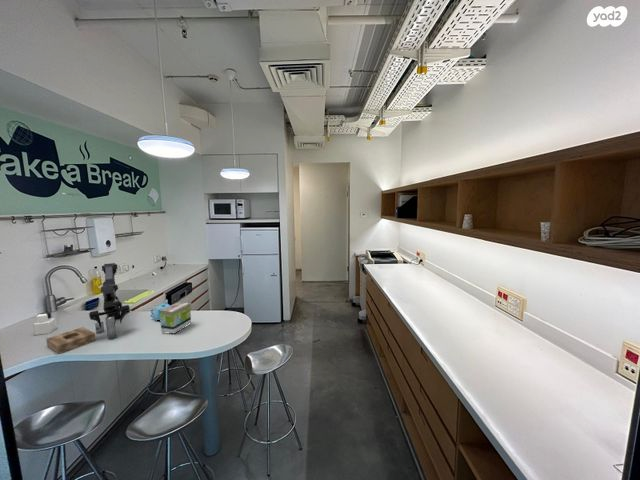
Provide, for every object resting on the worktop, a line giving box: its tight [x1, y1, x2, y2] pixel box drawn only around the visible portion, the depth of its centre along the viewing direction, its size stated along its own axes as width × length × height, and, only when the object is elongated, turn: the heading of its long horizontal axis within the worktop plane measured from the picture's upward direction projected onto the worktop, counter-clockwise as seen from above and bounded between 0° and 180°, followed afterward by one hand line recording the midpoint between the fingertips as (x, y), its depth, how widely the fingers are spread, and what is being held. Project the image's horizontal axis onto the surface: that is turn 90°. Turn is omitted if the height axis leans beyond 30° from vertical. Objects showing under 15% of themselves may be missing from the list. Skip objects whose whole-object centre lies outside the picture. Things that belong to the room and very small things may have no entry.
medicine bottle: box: [33, 311, 58, 336], centre depth 160 cm, size 7×7×12 cm
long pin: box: [105, 316, 117, 341], centre depth 153 cm, size 4×4×13 cm
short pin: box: [94, 321, 105, 335], centre depth 160 cm, size 4×4×6 cm
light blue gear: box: [150, 299, 171, 321], centre depth 181 cm, size 15×15×10 cm
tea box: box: [160, 302, 192, 333], centre depth 165 cm, size 15×10×15 cm
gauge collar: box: [46, 326, 97, 355], centre depth 147 cm, size 16×16×4 cm
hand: (110, 325), depth 153 cm, fingers open, 9 cm apart
